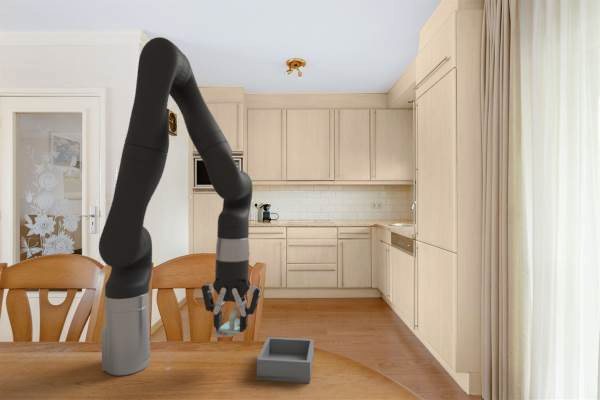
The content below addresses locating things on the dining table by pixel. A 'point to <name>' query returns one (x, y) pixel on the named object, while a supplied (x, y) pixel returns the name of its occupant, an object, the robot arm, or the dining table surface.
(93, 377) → the dining table surface
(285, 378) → the bin
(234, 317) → the pacifier
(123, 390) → the dining table surface
